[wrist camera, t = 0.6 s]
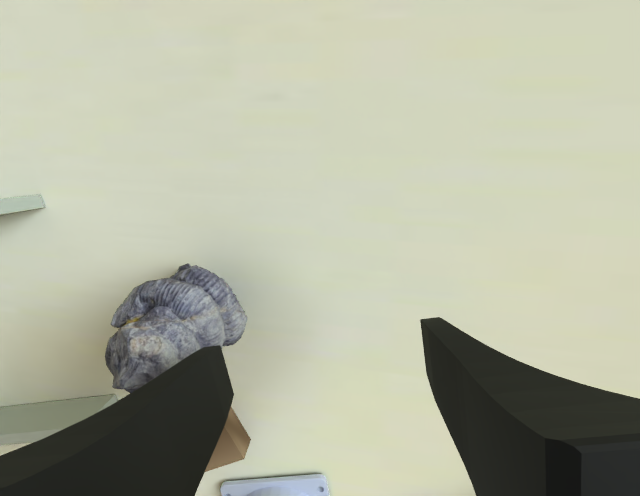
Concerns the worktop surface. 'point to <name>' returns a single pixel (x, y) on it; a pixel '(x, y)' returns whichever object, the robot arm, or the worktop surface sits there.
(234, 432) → the walnut tile
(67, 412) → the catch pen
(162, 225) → the worktop surface
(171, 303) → the seashell
